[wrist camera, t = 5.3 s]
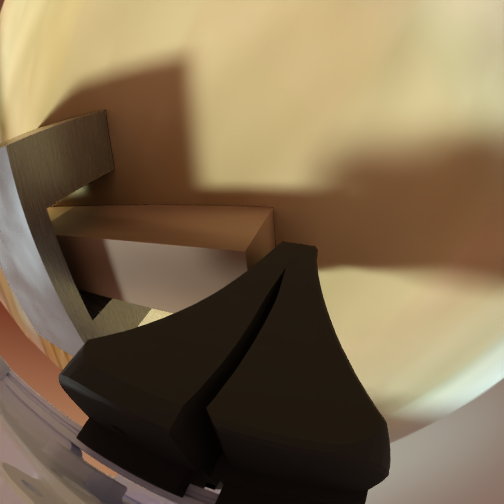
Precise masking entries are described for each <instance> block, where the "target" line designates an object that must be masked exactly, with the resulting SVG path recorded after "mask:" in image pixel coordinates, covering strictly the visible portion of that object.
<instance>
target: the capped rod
mask: <svg viewBox="0 0 504 504" xmlns="http://www.w3.org/2000/svg"><path fill="white" fill-rule="evenodd" d="M47 211H48V214H49V217H50V220H51V223H52V226H53V229H54V232H55V235H56V238H57V240H58V243H59V246H60V248H61V251H62V254H63V256H64V259H65V261H66V264H67V266H68V269H69V271H70V274H71V276H72V278H73V281H74V283H75V285H76V287H77V289H80V290H84V291H87V292H91V293H94V294H98V295H102V296H105V297H109V298H113V299H117V300H121V301H124V302H128V303H132V304H136V305H141V306H145V307H149V308H153V309H157V310H162V311H166V312H171V313H176V312H178V311H180V310H183V309H185V308H187V307H189V306H192V305H194V304H196V303H198V302H199V301H201V300H203V299H205V298H207V297H209V296H210V295H212V294H214V293H216V292H217V291H219V290H220V289H222V288H224V287H225V286H226V285H228V284H229V283H231V282H232V281H234V280H235V279H237V278H238V277H239V276H241V275H242V274H243V273H245V272H246V271H247V270H249V269H250V268H251V267H252V266H254V265H255V264H256V263H257V262H259V261H260V260H261V259H262V258H264V257H265V256H266V255H267V254H268V253H269V252H271V251H272V250H273V249H274V248H275V247H276V245H275V230H274V215H273V208H272V207H247V206H213V205H98V206H66V207H49V208H47Z"/></svg>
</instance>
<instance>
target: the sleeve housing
mask: <svg viewBox="0 0 504 504" xmlns="http://www.w3.org/2000/svg"><path fill="white" fill-rule="evenodd" d="M114 169H115V168H114V162H113V157H112V151H111V145H110V139H109V133H108V126H107V119H106V111H105V110H102V111H98V112H93V113H89V114H85V115H81V116H77V117H74V118H70V119H66V120H63V121H59V122H56V123H53V124H49V125H46V126H43V127H40V128H37V129H34V130H32V131H29V132H27V133H24V134H22V135H20V136H17V137H15V138H13V139H10V140H8V141H6V142H4V143H1V144H0V267H1V269H2V271H3V273H4V275H5V277H6V279H7V281H8V283H9V285H10V287H11V289H12V291H13V293H14V294H15V296H16V298H17V300H18V302H19V303H20V305H21V307H22V309H23V310H24V312H25V314H26V316H27V317H28V319H29V321H30V322H31V324H32V325H33V327H34V329H35V330H36V332H37V333H38V335H40V336H41V337H43V338H44V339H46V340H47V341H49V342H50V343H52V344H54V345H55V346H57V347H59V348H60V349H62V350H63V351H65V352H67V353H68V354H70V355H72V356H75V355H76V353H77V352H78V351H79V350H80V349H81V347H82V346H83V345H84V344H85V343H86V341H87V340H88V339H94V338H98V337H102V336H107V335H111V334H115V333H119V332H123V331H127V330H130V329H133V328H136V327H137V326H138V325H139V324H140V323H141V321H142V320H143V319H144V318H145V316H146V315H147V314H148V312H149V311H150V310H151V309H152V308H149V307H145V306H141V305H136V304H132V303H128V302H124V301H121V300H117V299H113V298H109V297H105V296H102V295H98V294H94V293H91V292H87V291H84V290H80V289H77V287H76V285H75V283H74V281H73V278H72V276H71V274H70V271H69V269H68V266H67V264H66V261H65V259H64V256H63V254H62V251H61V248H60V246H59V243H58V240H57V238H56V235H55V232H54V229H53V226H52V223H51V220H50V217H49V214H48V211H47V208H49V207H50V206H52V205H53V204H55V203H56V202H58V201H60V200H61V199H63V198H64V197H66V196H68V195H69V194H71V193H73V192H74V191H76V190H78V189H80V188H81V187H83V186H85V185H86V184H88V183H90V182H92V181H94V180H95V179H97V178H99V177H101V176H103V175H104V174H106V173H108V172H110V171H112V170H114Z"/></svg>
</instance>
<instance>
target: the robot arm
mask: <svg viewBox="0 0 504 504" xmlns="http://www.w3.org/2000/svg"><path fill="white" fill-rule="evenodd" d="M317 251H318V250H317V249H316V247H315V246H310V245H303V244H296V243H289V242H281V243H280V244H279V245H277V246H276V247H275V248H274V249H273V250H272V251H271V252H269V253H268V254H267V255H266V256H265V257H264V258H262V259H261V260H260V261H259V262H257V263H256V264H255V265H254V266H252V267H251V268H250V269H249V270H247V271H246V272H245V273H243V274H242V275H241V276H239V277H238V278H237V279H235V280H234V281H232V282H231V283H229V284H228V285H226V286H225V287H224V288H222V289H220V290H219V291H217V292H216V293H214V294H212V295H210V296H209V297H207V298H205V299H203V300H201V301H199V302H198V303H196V304H194V305H192V306H189V307H187V308H185V309H183V310H180V311H178V312H176V313H174V314H172V315H169V316H167V317H165V318H162V319H159V320H157V321H154V322H151V323H149V324H146V325H143V326H140V327H136V328H133V329H130V330H127V331H123V332H119V333H115V334H111V335H107V336H102V337H98V338H94V339H88V340H87V341H86V343H85V344H84V345H83V346H82V347H81V349H80V350H79V351H78V352H77V353H76V355H75V356H74V357H73V358H72V360H71V361H70V362H69V363H68V364H67V366H66V367H65V368H64V369H63V371H62V372H61V373H60V374H59V383H60V385H61V386H62V388H63V389H64V391H65V392H66V393H67V394H68V395H69V397H70V398H71V399H72V400H73V401H74V402H75V403H76V404H77V405H78V406H79V407H80V408H81V410H82V411H83V412H84V413H85V414H86V415H87V416H88V417H89V419H88V421H87V422H86V423H85V425H84V426H83V427H82V426H80V425H79V424H77V423H76V422H74V421H73V420H72V419H70V418H69V417H68V416H66V415H65V414H63V413H62V412H61V411H59V410H58V409H57V408H56V407H54V406H53V405H52V404H50V403H49V402H48V401H47V400H45V399H44V398H43V397H42V396H40V395H39V394H38V393H37V392H36V391H34V390H33V389H32V388H31V387H30V386H29V385H28V384H26V383H25V382H24V381H23V380H22V379H21V378H20V377H19V376H17V374H15V373H14V372H13V371H12V370H11V369H10V367H9V365H8V364H7V363H6V362H5V360H4V359H3V358H2V357H1V356H0V504H365V502H366V497H367V492H368V490H369V489H370V488H372V487H373V486H375V485H377V484H379V483H380V482H382V481H383V480H384V479H385V478H386V477H387V476H388V475H389V469H390V442H389V434H388V428H387V423H386V421H385V419H384V418H383V417H382V415H381V414H380V412H379V411H378V409H377V408H376V406H375V405H374V403H373V402H372V400H371V399H370V397H369V396H368V394H367V393H366V391H365V389H364V387H363V386H362V384H361V382H360V381H359V379H358V377H357V376H356V374H355V372H354V370H353V368H352V366H351V364H350V362H349V360H348V358H347V356H346V354H345V352H344V350H343V349H342V346H341V344H340V342H339V339H338V337H337V335H336V333H335V330H334V328H333V325H332V322H331V320H330V317H329V314H328V311H327V308H326V305H325V301H324V298H323V294H322V290H321V286H320V281H319V277H318V271H317ZM79 448H80V449H81V450H83V451H84V452H85V453H87V454H88V455H90V456H91V457H93V458H94V459H96V460H97V461H99V462H100V463H102V464H104V465H105V466H107V467H109V468H110V469H112V470H113V471H115V472H117V473H118V475H117V476H116V477H114V476H112V475H106V474H105V473H103V472H101V471H100V470H98V469H96V468H95V467H93V466H92V465H90V464H89V463H87V462H86V461H85V460H84V459H83V458H82V452H81V450H80V449H79ZM119 474H120V475H119ZM121 475H122V476H121ZM123 476H124V477H125V478H124V477H123ZM126 478H127V479H126ZM128 479H129V480H128ZM130 480H131V481H130ZM133 482H134V483H133ZM135 483H136V484H135ZM137 484H138V485H137ZM139 485H140V486H139ZM141 486H142V487H141ZM143 487H144V488H143ZM145 488H146V489H145Z"/></svg>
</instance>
